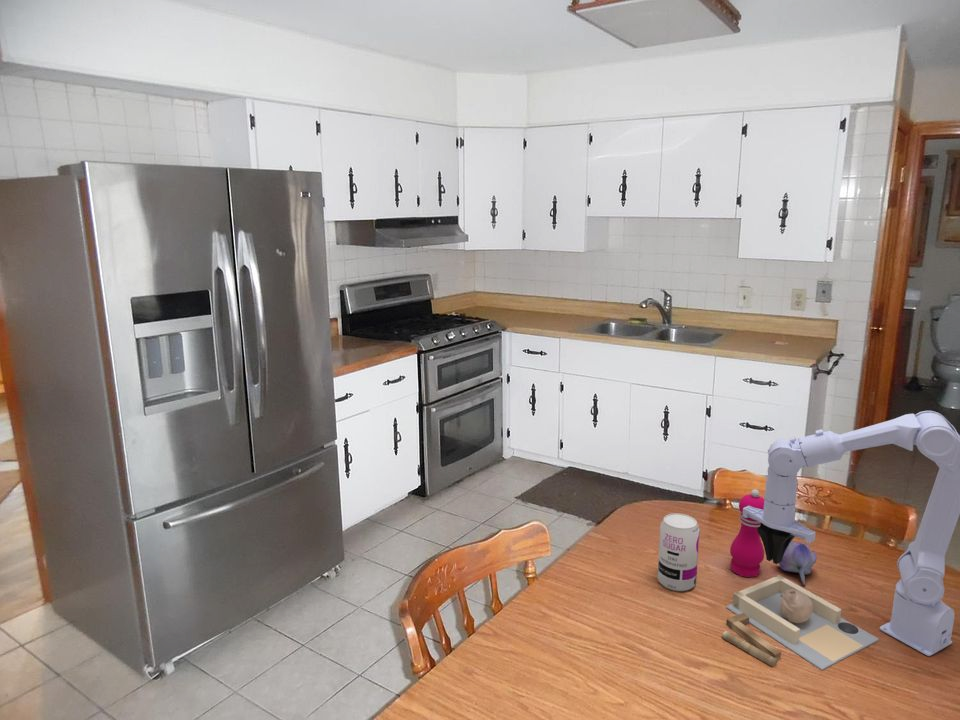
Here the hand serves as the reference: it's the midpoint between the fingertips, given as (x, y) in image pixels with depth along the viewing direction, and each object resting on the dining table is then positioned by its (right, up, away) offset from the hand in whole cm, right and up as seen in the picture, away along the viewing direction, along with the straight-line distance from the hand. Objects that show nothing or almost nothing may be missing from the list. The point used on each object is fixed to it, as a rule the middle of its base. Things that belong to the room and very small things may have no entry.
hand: (774, 560), depth 139 cm
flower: (+11, -8, +13) cm, 19 cm away
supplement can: (-17, -8, +11) cm, 22 cm away
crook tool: (-7, -13, -8) cm, 17 cm away
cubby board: (+3, -12, -3) cm, 13 cm away
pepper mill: (0, -7, +16) cm, 17 cm away
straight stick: (-10, -14, -11) cm, 20 cm away
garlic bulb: (+3, -11, -3) cm, 12 cm away
